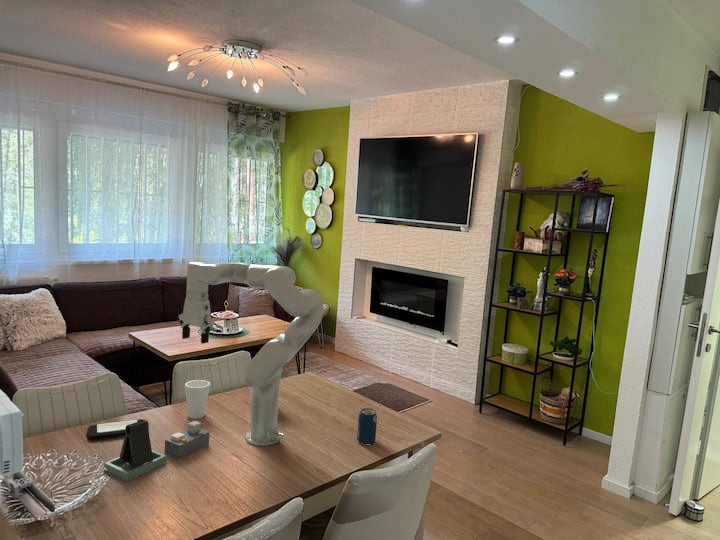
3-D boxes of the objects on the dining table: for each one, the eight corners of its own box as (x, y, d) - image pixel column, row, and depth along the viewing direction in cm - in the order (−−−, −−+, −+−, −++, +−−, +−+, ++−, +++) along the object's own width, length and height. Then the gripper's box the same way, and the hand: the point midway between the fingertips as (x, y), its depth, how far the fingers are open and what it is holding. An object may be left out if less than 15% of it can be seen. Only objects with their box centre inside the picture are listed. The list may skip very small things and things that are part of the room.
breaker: (200, 432, 170) (200, 422, 170) (193, 435, 168) (194, 425, 167) (194, 430, 172) (194, 420, 171) (187, 433, 169) (187, 423, 169)
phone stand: (119, 457, 154) (120, 421, 152) (137, 451, 159) (138, 415, 157) (134, 467, 148) (136, 430, 147) (153, 460, 153) (154, 424, 152)
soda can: (378, 442, 183) (381, 412, 182) (366, 448, 178) (369, 416, 177) (365, 436, 188) (367, 406, 186) (352, 441, 183) (355, 410, 181)
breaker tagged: (184, 444, 164) (184, 434, 164) (177, 447, 162) (177, 437, 161) (178, 442, 166) (178, 432, 165) (170, 445, 163) (171, 435, 163)
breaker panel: (208, 445, 171) (209, 430, 170) (179, 460, 159) (179, 443, 159) (194, 439, 174) (195, 424, 174) (164, 453, 163) (165, 438, 162)
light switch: (145, 415, 188) (149, 426, 176) (145, 422, 188) (149, 434, 176) (86, 422, 178) (86, 434, 166) (86, 430, 178) (86, 443, 166)
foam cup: (213, 414, 196) (215, 383, 195) (194, 422, 189) (196, 389, 187) (198, 408, 201) (199, 378, 200) (179, 415, 194) (180, 383, 192)
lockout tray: (166, 462, 157) (166, 455, 157) (127, 481, 145) (127, 474, 145) (143, 452, 162) (143, 446, 162) (104, 470, 150) (104, 462, 150)
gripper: (221, 297, 179) (219, 342, 181) (188, 291, 187) (186, 334, 189) (206, 299, 173) (204, 346, 174) (172, 293, 181) (170, 338, 182)
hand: (195, 340), depth 182 cm, fingers open, 9 cm apart
